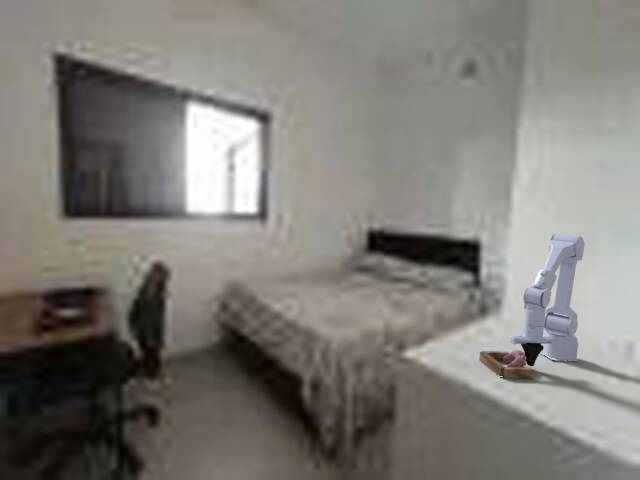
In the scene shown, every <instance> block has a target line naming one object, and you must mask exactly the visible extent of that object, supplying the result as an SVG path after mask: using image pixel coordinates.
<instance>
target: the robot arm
mask: <svg viewBox="0 0 640 480" xmlns="http://www.w3.org/2000/svg"><path fill="white" fill-rule="evenodd" d="M585 244H586V243H585V240H584V238H583V237H582V236H581V235H579V236H575V235H566V234H565V235H563V234H557V233H552V234H551V235H550V236H549V238H548V241H547V246H548V256H547V259H546V261H545V265H544V267H543V268H542V269H539V270H538V272H537V273H536V276H535V278H534V280H533V282H532V284H531V285H530V287H527V288H526V289H525V290H524V293H523V296H522V297H523V298H522V299H523V303H524V304H523V305H524V307H523V308H524V309H525V314H524V322H523V323H524V325H523V334H522V335H516V336H510V342H509V343H510V344H512V345H517V344H519V345H520V346H521V348H522V350H523V352H524V354H525V358H526V365H527V366H529V367H534V366H535V365H536V364H535V363H536V362H537V359H538V357H539V355H542V354H543V355H542V356H544V355H545V356H547V357H548V358H550V357H551V358H550V359H552V358H555V359H556V360H561V361H560V362H563V361H562V360H568V361H567V362H572V361H578V362H579V360H578V359H577V356H578V348H579V341H578V340H579V339H578V338H577V336H576V335H575V334H576V333H577V330H578V325H579V324H578V314H577V313H576V311H575V310H573V309H572V308H571V301H572V295H573V289H574V288H573V287H574V281H575V274H576V267H577V264H578V263H577V262H580V261H582V259H583V256H584V250H585ZM558 269H559V271H558V278H557V275H556V272H557V270H558ZM556 280H557V283H556ZM555 283H556V289H555V290H556V291H555V298H554V304H553V305H551V306H550V307H548V306H549V304H550V302H551V296H552V289H553V287H554V285H555ZM544 330H545V332H546V336H544ZM543 344H545V347H544V345H543ZM544 348H545V351H544ZM540 353H542V354H540ZM545 356H544V357H545ZM547 357H546V358H547ZM548 358H547V359H548ZM550 359H549V360H550ZM552 360H554V359H552ZM552 360H551V361H552Z"/></svg>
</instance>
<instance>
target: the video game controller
mask: <svg viewBox="0 0 640 480" xmlns="http://www.w3.org/2000/svg"><path fill="white" fill-rule="evenodd" d="M509 353H510V354H508V355H506V356H504V357H503V359H502V360H503V363H505V364H507V365H506V367H520V368H524V367H525V366H526V365H527V363H526V357H525V353H524V351H522V350H519V349H514V350H513V351H511V352H509Z"/></svg>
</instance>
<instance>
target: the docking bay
mask: <svg viewBox="0 0 640 480" xmlns="http://www.w3.org/2000/svg"><path fill="white" fill-rule="evenodd" d="M510 353H511V352H508V351H501V350H500V351H497V350H496V351H494V350H481V351H480V352H479V362H481V364H483V365H484V366H486V367H487V368H488V367H489V368H490V369H489V368H488V369H489V370H491V372H492V373H494V372H495V373H496V374H495V373H494V374H495V375H496V376H498V375H499V376H503V377H504V378H503V377H502V378H503V379H505V378H515V379H514V380H516V379H517V380H533V379H534V371H535V369H533V368H532V367H522V368H520V367H507V366H504V365H502V364H501V363H500V362H503V360H502V359H503V357H504V356H506V355H508V354H510ZM503 363H504V362H503ZM499 376H498V377H499Z"/></svg>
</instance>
